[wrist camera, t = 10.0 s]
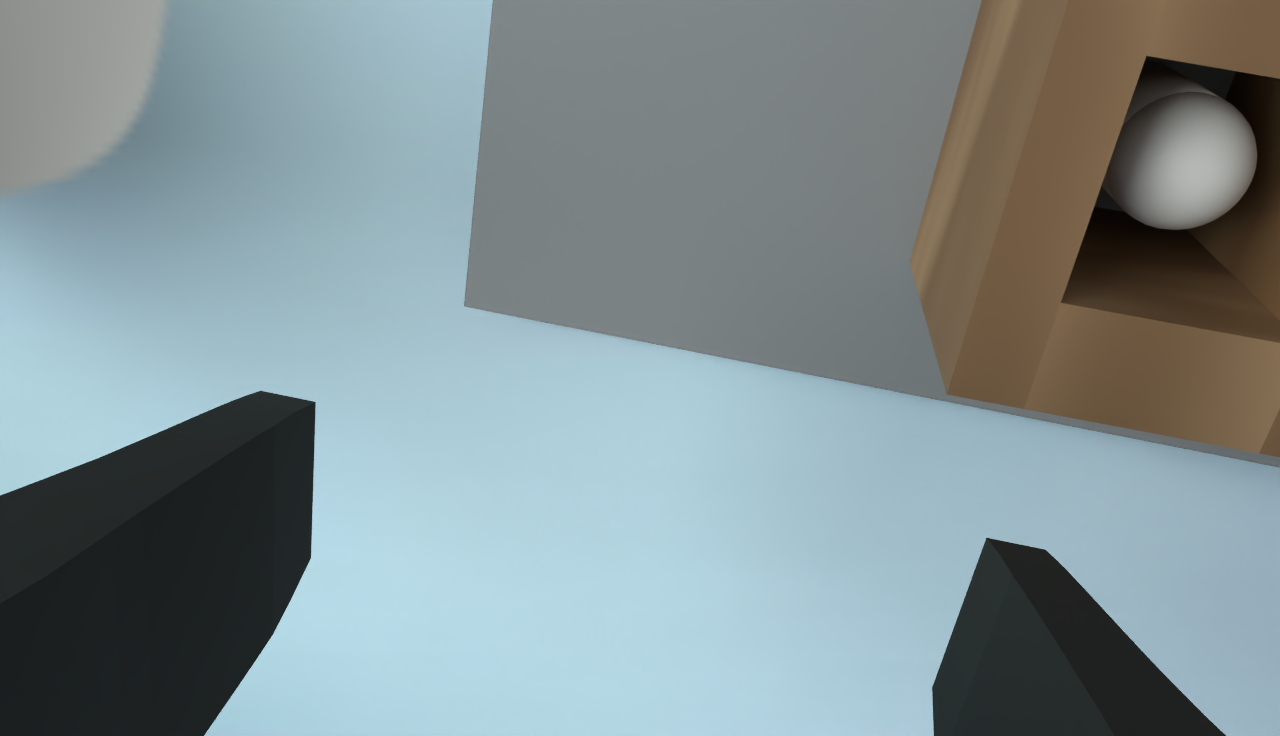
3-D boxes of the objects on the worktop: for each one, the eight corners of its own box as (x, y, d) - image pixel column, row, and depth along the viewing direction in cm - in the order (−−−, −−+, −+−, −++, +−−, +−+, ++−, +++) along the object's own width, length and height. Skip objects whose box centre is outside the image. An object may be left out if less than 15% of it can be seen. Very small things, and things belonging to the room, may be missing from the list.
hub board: (2117, -424, 14) (2744, -552, 9) (1543, 496, 20) (1758, 682, 16) (573, -668, 15) (478, -892, 10) (478, 286, 21) (393, 406, 16)
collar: (1362, -62, 16) (1586, -25, 11) (1205, 316, 18) (1338, 468, 14) (1014, -120, 16) (1100, -106, 12) (909, 262, 19) (946, 394, 14)
